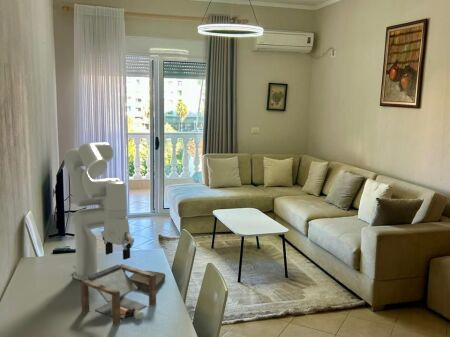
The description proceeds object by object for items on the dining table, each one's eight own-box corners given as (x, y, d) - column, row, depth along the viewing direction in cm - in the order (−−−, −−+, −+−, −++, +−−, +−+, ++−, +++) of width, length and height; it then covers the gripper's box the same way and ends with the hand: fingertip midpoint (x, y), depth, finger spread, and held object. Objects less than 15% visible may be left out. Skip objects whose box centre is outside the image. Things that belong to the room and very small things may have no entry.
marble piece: (154, 295, 183) (153, 285, 182) (122, 291, 186) (121, 282, 185) (168, 279, 199) (167, 271, 198) (138, 276, 202) (138, 268, 201)
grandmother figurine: (118, 299, 168) (146, 304, 163) (119, 308, 169) (148, 313, 164) (107, 311, 161) (136, 316, 156) (108, 320, 162) (137, 325, 157)
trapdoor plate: (87, 278, 167) (88, 275, 167) (117, 266, 180) (118, 264, 179) (107, 303, 162) (108, 301, 162) (136, 289, 175) (137, 287, 174)
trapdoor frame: (81, 311, 167) (80, 280, 165) (122, 292, 184) (121, 264, 182) (116, 326, 156) (115, 293, 154) (156, 304, 173) (155, 274, 172)
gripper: (93, 212, 166) (95, 254, 169) (125, 218, 157) (126, 263, 159) (108, 208, 172) (110, 249, 175) (139, 214, 163) (140, 257, 165)
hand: (117, 256), depth 167 cm, fingers open, 9 cm apart
